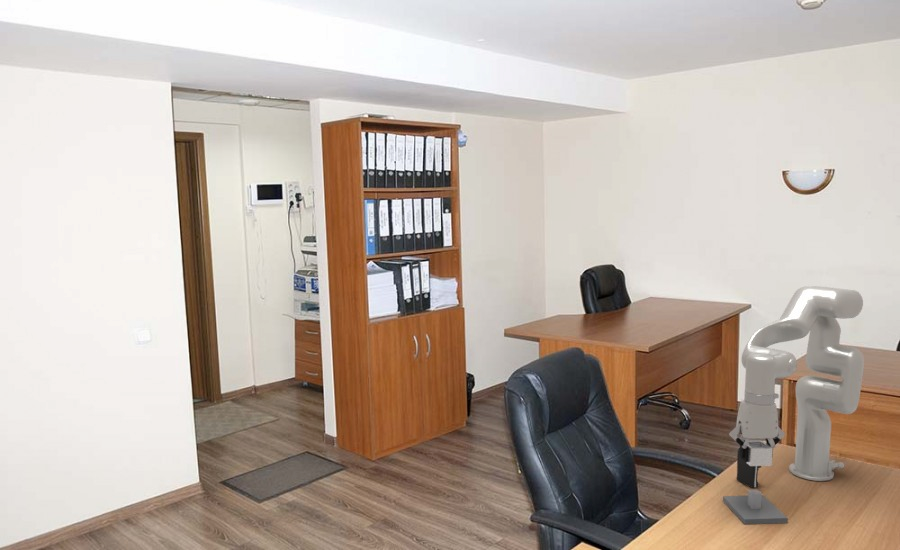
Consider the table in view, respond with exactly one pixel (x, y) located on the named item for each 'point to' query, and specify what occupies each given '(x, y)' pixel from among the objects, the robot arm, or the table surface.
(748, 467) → the battery charger
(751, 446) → the collar
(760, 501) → the stand
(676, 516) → the table surface
